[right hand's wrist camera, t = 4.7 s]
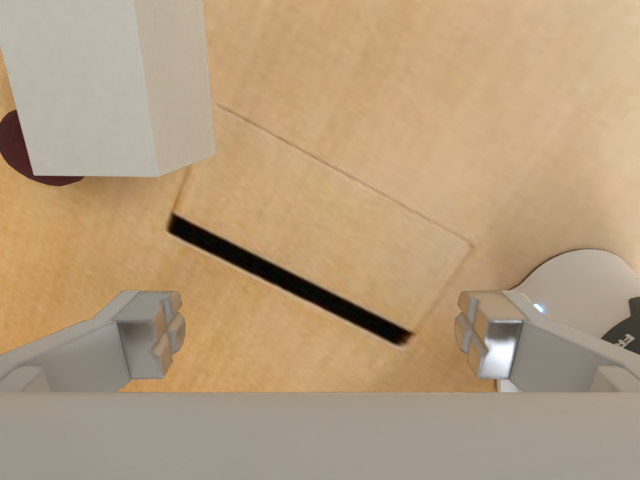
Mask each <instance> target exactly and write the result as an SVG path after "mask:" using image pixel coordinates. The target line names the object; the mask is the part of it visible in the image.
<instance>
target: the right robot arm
mask: <svg viewBox="0 0 640 480" xmlns="http://www.w3.org/2000/svg"><path fill="white" fill-rule="evenodd" d="M181 306H182V302H181V297H180V294H179V293H178V292H177V291H148V290H143V291H142V290H126V291H121V292H120V293H119V294H118V295H117V296H116V297H115V298H114V299H113V300H112V301H111V302H109V303H108V304H107V305H106V306H105V307H104V308H103V309H102V310H101V311H100V312H99V313H98V314H97V315H95V316H94V317H93V318H92V319H91V320H88V321H82V322H79V323H77V324H75V325H72V326H70V327H67V328H65V329H62V330H60V331H57V332H55V333H53V334H50V335H48V336H45V337H43V338H40V339H38V340H35V341H33V342H31V343H28V344H26V345H23V346H21V347H18V348H16V349H14V350H11V351H9V352H6V353H4V354H1V355H0V480H640V276H639V275H638V274H637V273H636V272H635V271H634V270H633V269H632V268H631V267H630V266H629V265H628V264H627V263H626V262H625V261H624V260H623V259H622V258H620V257H619V256H617V255H615V254H613V253H610V252H607V251H604V250H597V249H581V250H575V251H571V252H567V253H564V254H561V255H559V256H557V257H554V258H552V259H551V260H549V261H547V262H545V263H544V264H542V265H541V266H540V267H538V268H537V269H536V270H535V271H534V272H533V273H532V274H531V275H530V276H529V277H528V278H527V279H526V280H525V281H524V282H523V283H521V284H520V285H519V286H517V287H515V288H513V289H511V290H502V291H500V290H494V291H464V292H461V294H460V296H459V301H458V306H459V307H460V309H461V310H462V312H461V313H460V314H459V315H458V316H457V317H456V320H455V328H454V329H455V338H456V342H457V345H458V346H459V348H460V350H461V351H462V352H464V353H465V354H467V355H468V358H467V362H468V364H469V366H470V368H471V369H472V371H473V373H474V374H475V376H476V378H477V379H496V381H497V392H117V391H118V390H120V389H121V388H122V387H124V386H125V385H126V384H128V383H129V382H130V381H131V380H135V379H163V378H164V376H165V375H166V373H167V371H168V369H169V368H170V366H171V364H172V362H173V358H172V355H173V354H175V353H176V352H178V351H179V350H180V348H181V346H182V344H183V341H184V337H185V320H184V317H183V316H182V315H181V314H180V313H179V312H178V310H179V309H180V307H181Z"/></svg>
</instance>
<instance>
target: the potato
mask: <svg viewBox="0 0 640 480" xmlns="http://www.w3.org/2000/svg"><path fill="white" fill-rule="evenodd" d="M0 152H1V154H2V156H3V158H4V159H5V161H6V162H7V163H8V164H9V165H10V166H11V167H13V168H14V169H15V170H16V171H18V172H19V173H20V174H22V175H24V176H26V177H27V178H29V179H32V180H34V181H37V182H40V183H43V184H47V185H51V186H63V185H67V184H71V183H74V182H77V181H80V180H81V179H83V178H84V177H85V176H35V175H34V174H33V170H32V166H31V163H30V159H29V155H28V151H27V147H26V144H25V140H24V136H23V132H22V128H21V124H20V121H19V117H18V113H17V109H16V110H14V111H11V112H9V113H8V114H7V115H6V116H5V117H4V118H3V119H2V121H1V122H0Z"/></svg>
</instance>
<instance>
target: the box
mask: <svg viewBox="0 0 640 480" xmlns="http://www.w3.org/2000/svg"><path fill="white" fill-rule="evenodd" d="M0 48H1V52H2V56H3V59H4V63H5V67H6V71H7V75H8V79H9V82H10V86H11V90H12V94H13V98H14V101H15V105H16V109H17V113H18V117H19V121H20V124H21V128H22V132H23V136H24V140H25V144H26V147H27V151H28V155H29V159H30V163H31V166H32V170H33V174H34V175H35V176H110V177H160V176H162V175H165V174H167V173H170V172H173V171H175V170H178V169H180V168H183V167H186V166H188V165H191V164H193V163H196V162H199V161H201V160H204V159H206V158H209V157H212V156H214V155H216V149H215V138H214V126H213V115H212V103H211V92H210V80H209V68H208V57H207V45H206V34H205V22H204V11H203V0H0Z"/></svg>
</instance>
